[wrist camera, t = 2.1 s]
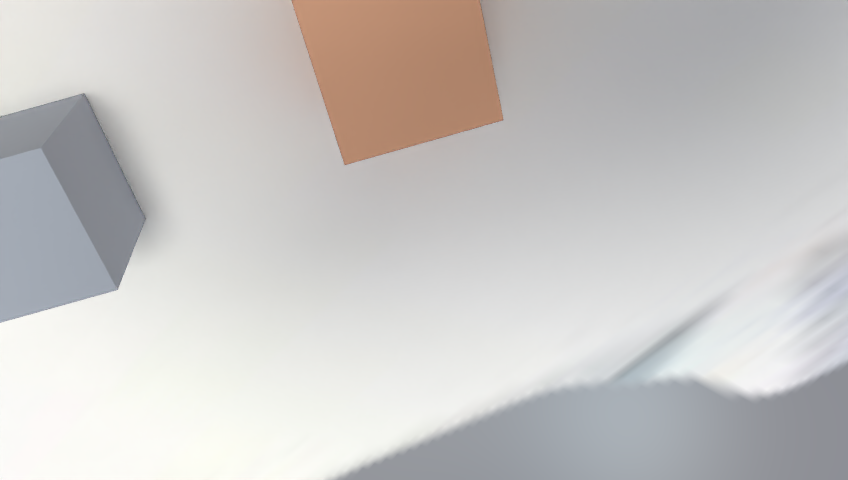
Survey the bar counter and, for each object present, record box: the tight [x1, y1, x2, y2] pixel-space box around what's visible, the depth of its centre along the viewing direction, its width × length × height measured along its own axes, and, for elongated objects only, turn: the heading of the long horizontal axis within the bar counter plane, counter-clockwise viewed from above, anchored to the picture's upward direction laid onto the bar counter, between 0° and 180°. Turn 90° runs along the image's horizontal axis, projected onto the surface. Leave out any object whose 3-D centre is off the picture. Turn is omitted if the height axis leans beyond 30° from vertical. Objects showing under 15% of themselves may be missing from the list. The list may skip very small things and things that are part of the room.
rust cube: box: [292, 0, 503, 165], centre depth 24 cm, size 5×5×5 cm
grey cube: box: [0, 94, 145, 323], centre depth 25 cm, size 5×5×5 cm
